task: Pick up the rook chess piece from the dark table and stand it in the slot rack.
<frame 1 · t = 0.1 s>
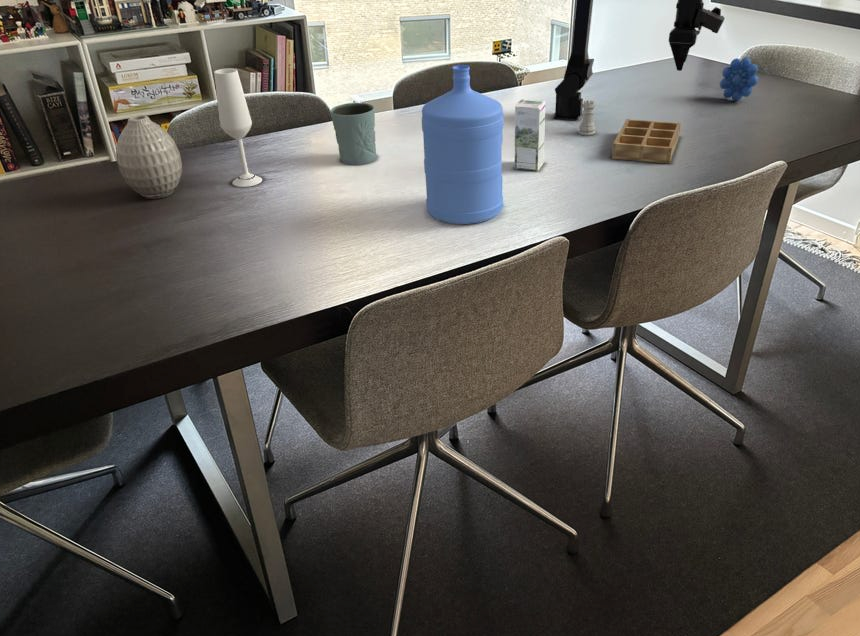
hand: (681, 66, 188), 15 cm above the table, tool pointing down, fingers open, 9 cm apart
rook chess piece: (586, 134, 192), on the table
grapes: (737, 101, 213), on the table
syrup box: (529, 167, 173), on the table
champagne flute: (247, 182, 170), on the table
green embossed cup: (357, 159, 181), on the table
water jug: (464, 211, 153), on the table
vase: (158, 194, 165), on the table
rack: (646, 147, 182), on the table
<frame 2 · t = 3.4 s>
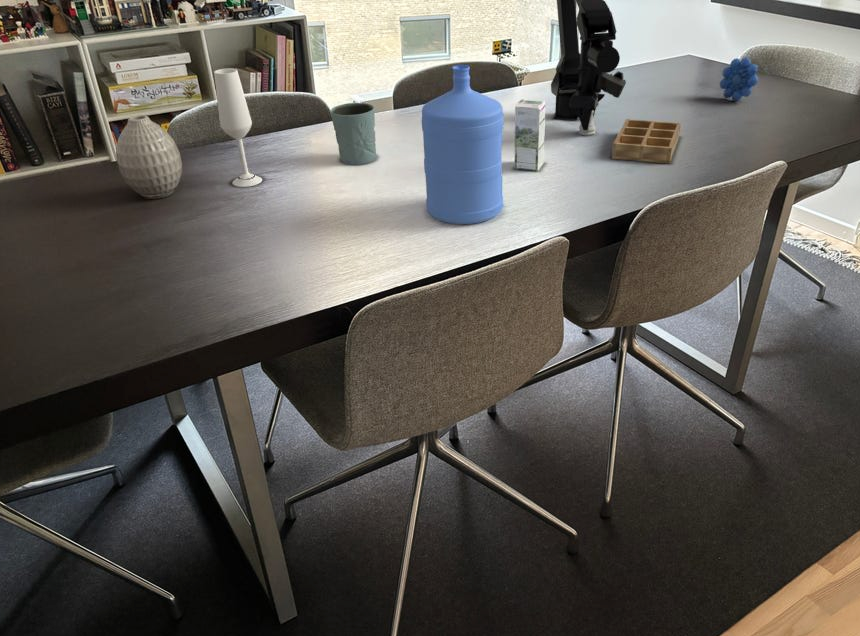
hand: (587, 127, 191), 2 cm above the table, tool pointing down, fingers closed on rook chess piece, 4 cm apart
rook chess piece: (586, 134, 192), on the table, touching gripper
everything else where it was.
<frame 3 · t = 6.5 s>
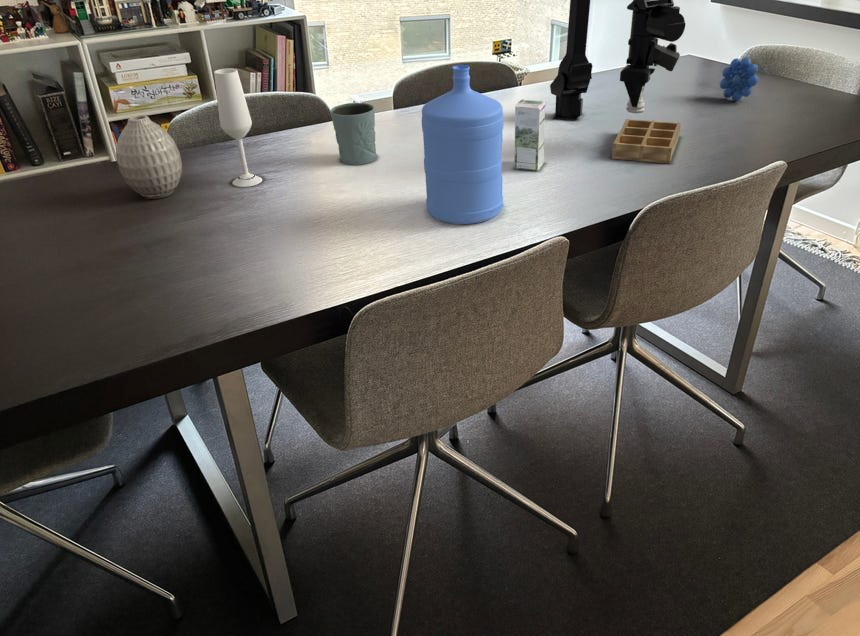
hand: (636, 104, 178), 10 cm above the table, tool pointing down, fingers closed on rook chess piece, 4 cm apart
rook chess piece: (635, 111, 179), point 8 cm above the table, touching gripper
everything else where it was.
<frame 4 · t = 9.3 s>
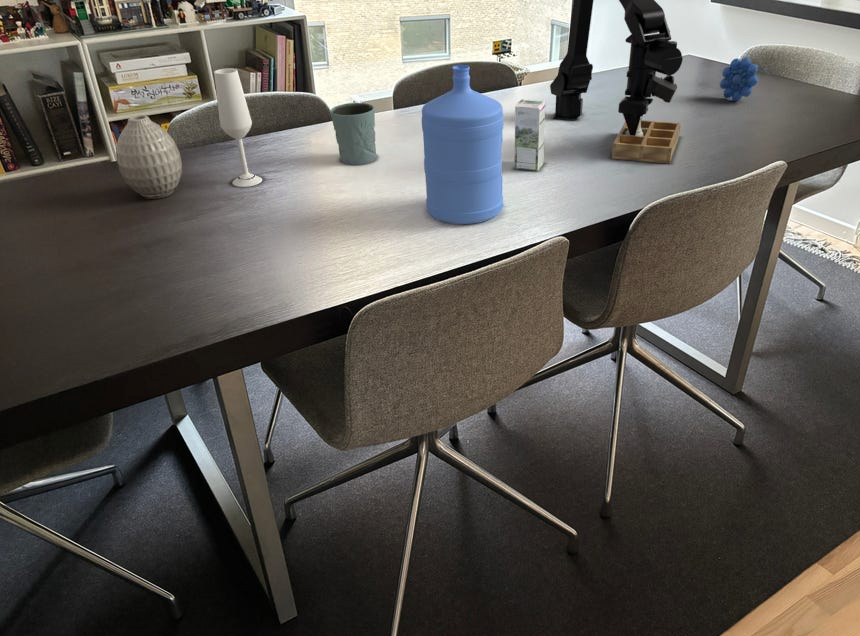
hand: (634, 133, 181), 3 cm above the table, tool pointing down, fingers closed on rook chess piece, 4 cm apart
rook chess piece: (633, 140, 182), point 1 cm above the table, touching gripper
everything else where it was.
when the fingers open (4 cm above the table, at t = 13.1 s): rook chess piece drops 2 cm, resting on rack.
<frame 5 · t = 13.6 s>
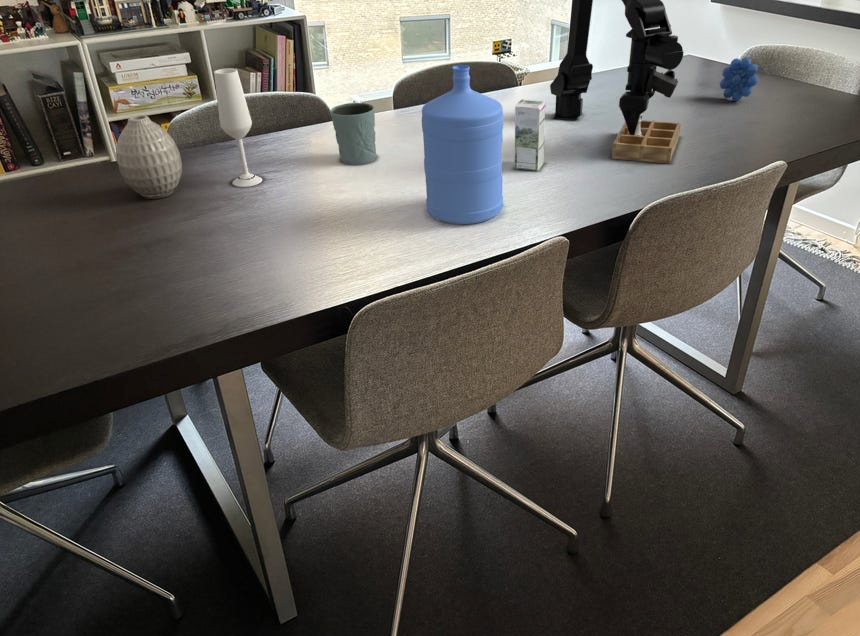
hand: (635, 128, 180), 4 cm above the table, tool pointing down, fingers open, 9 cm apart
rook chess piece: (633, 143, 183), point 1 cm above the table, touching rack
everything else where it was.
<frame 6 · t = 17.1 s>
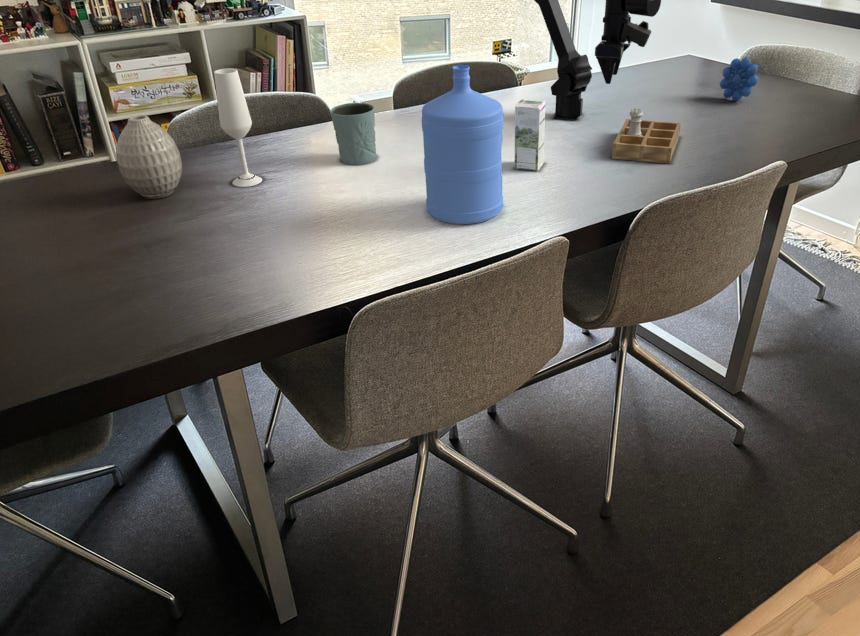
hand: (611, 79, 189), 12 cm above the table, tool pointing down, fingers open, 9 cm apart
nothing on the table moved.
at the end: rook chess piece 0.1 cm from the target spot in the rack, point 0.6 cm above the rack's base; rook chess piece tilted 0°; the gripper is holding nothing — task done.
